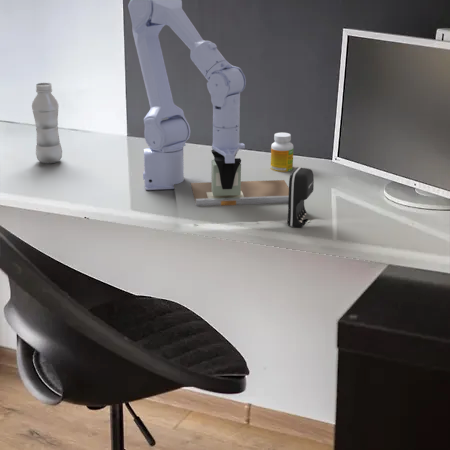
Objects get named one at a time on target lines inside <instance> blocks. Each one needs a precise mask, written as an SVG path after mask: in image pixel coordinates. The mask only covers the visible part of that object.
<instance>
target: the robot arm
mask: <svg viewBox="0 0 450 450" xmlns="http://www.w3.org/2000/svg"><path fill="white" fill-rule="evenodd" d="M127 8H128V12H129V15H130V20H131V21H130V22H131V25H132V26H131V27H132V28H131V29H132V36H133V39H134V44H135V49H136V53H137V57H138V61H139V65H140V70H141V74H142V79H143V82H144V87H145V91H146V97H147V99H148V104H149V108H150V109H149V111H148V112H147V113H146V115H145V116H144V117H143V125H144V132H143V136H144V140H145V142H146V144H147V146H148V147H147V148H143V169H144V171H143V172H142V178H143V180H144V190H146V191H152V190H155V191H157V190H158V191H159V190H175V186H174V185H177V184H181V183H183V182H184V180H185V177H184V176H185V175H184V174H185V173H184V169H185V167H184V148H185V147H186V142H187V141H188V140H189V139H190V137H191V126H190V123H189V122H188V120H187V118H186V116H185V113H184V110H183V109H182V108H181V107H179V106H177V104H175V103H174V98H173V94H172V90H171V85H170V81H169V77H168V72H167V68H166V63H165V60H164V55H163V49H162V47H161V41H160V38H159V34H160V32H161V31H162V29H163V28H164V27H165V26H168V27H169V28H170V29H171V30H172V32H174V34H175V35H176V36H177V37H178V38H179V39H180V40H181V41H182V42H183V43H184V44H185V46H186V47H188V49H189V50H190V54H189V56H190V57H189V59H190V60H191V61H192V63H193V64H194V66H196V68H197V69H198V71H200V73H201V74H202V76H203V77H204V78H205V80H207V82H206V87H207V91H208V92H209V95H210V102H211V104H212V144H211V148H212V149H211V153H212V156H213V160H215V162H216V164H217V166H218V169H219V173H220V180H221V186H222V189H232V187H233V183H234V178H235V174H236V171H237V169H238V167H239V165H240V163H241V162H242V159H241V158H240V157H239V158H238V157H236V156H237V154H238V152H239V150H241V149H245V148H246V147H245V146H246V145H245V143H243V142H240V127H241V126H240V123H241V122H240V121H241V120H240V119H241V118H240V117H241V113H240V112H241V111H240V110H241V108H240V107H241V94H242V92H244V90H245V88H246V84H247V79H246V75H245V74H244V73H245V72H243V69H242V68H241V67H239V66H235V65H232V64H231V63H229V61H228V60H226V58H225V57H224V55H222V53H221V52H220V50H219V49H218V46H217V44H216V43H214V42H213V41H210V40H204V39H203V37H202V36H201V35H200V33H199V31H198V30H197V29H196V27H195V26H194V24H193V22H192V21H191V20H190V18H189V17H188V16H187V14H186V12H185V11H184V9H183V1H182V0H129V3H128V4H127ZM241 164H242V163H241Z"/></svg>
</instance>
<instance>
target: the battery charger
mask: <svg viewBox="0 0 450 450" xmlns="http://www.w3.org/2000/svg"><path fill="white" fill-rule="evenodd" d="M288 179H289V180H288V187H289V198H288V203H287V205H288V206H287V209H288V210H287V212H288V213H287V226H288V227H292V228H293V227H294V228H296V227H297V228H301V227H303V226H304V225H305V224H306V223H307V221H309V218H305V217H306V216H305V215H307V214H308V212H307V211H306V207H305V200H307V199H308V198H309V197H310V196H311V195H312V193H313V191H314V188H315V187H314V182H315V181H314V172H313V170H312V169H311V168H307V167H301V166H297V167H295V168H294V170H292V172H291V173H290V175H289V178H288Z"/></svg>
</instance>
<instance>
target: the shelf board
mask: <svg viewBox="0 0 450 450" xmlns="http://www.w3.org/2000/svg"><path fill="white" fill-rule="evenodd" d="M190 187H191V190H192V193H193V194H192V195H193V198H194V199H193V200H194V203H195V206H197V207H198V206H199V207H200V206H203V207H204V206H205V207H206V206H236V205H258V204H260V205H261V204H283V203H284V204H285V203H286V204H288V198H289V185H288V184H287V182H286V180H285V179H281V180H280V179H279V180H278V179H277V180H274V179H273V180H245V181H242V180H241V195H229V196H213V193H212V190H211V182H191V183H190Z"/></svg>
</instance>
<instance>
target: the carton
mask: <svg viewBox="0 0 450 450" xmlns="http://www.w3.org/2000/svg"><path fill="white" fill-rule="evenodd" d="M210 174H211V175H210V176H211V190H212V193H213V196H229V195H241V181H242V163H240V165H239V167H238V169H237V171H236V174H235V178H234V183H233V187H232V189H222V186H221V180H220V173H219V169H218V166H217V164H216V162H215V160H214V159H211V173H210Z"/></svg>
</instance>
